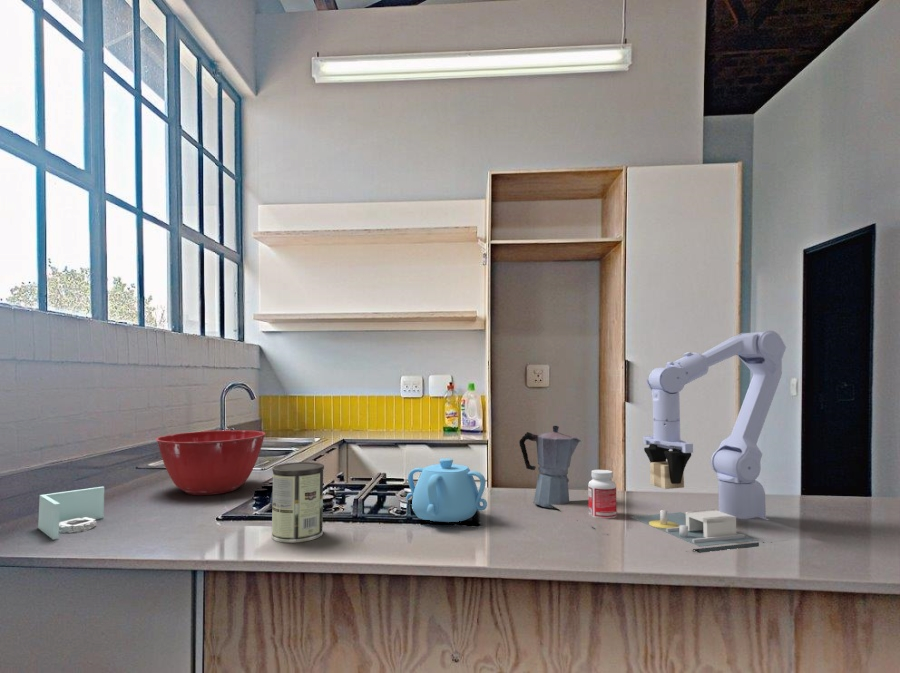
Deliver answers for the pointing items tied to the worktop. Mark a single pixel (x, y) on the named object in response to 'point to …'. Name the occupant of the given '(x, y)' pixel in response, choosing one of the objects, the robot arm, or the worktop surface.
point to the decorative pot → (446, 492)
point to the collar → (662, 476)
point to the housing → (711, 522)
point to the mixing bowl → (210, 459)
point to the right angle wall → (70, 511)
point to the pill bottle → (602, 495)
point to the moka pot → (551, 465)
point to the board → (693, 532)
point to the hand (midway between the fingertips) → (667, 481)
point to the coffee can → (297, 502)
